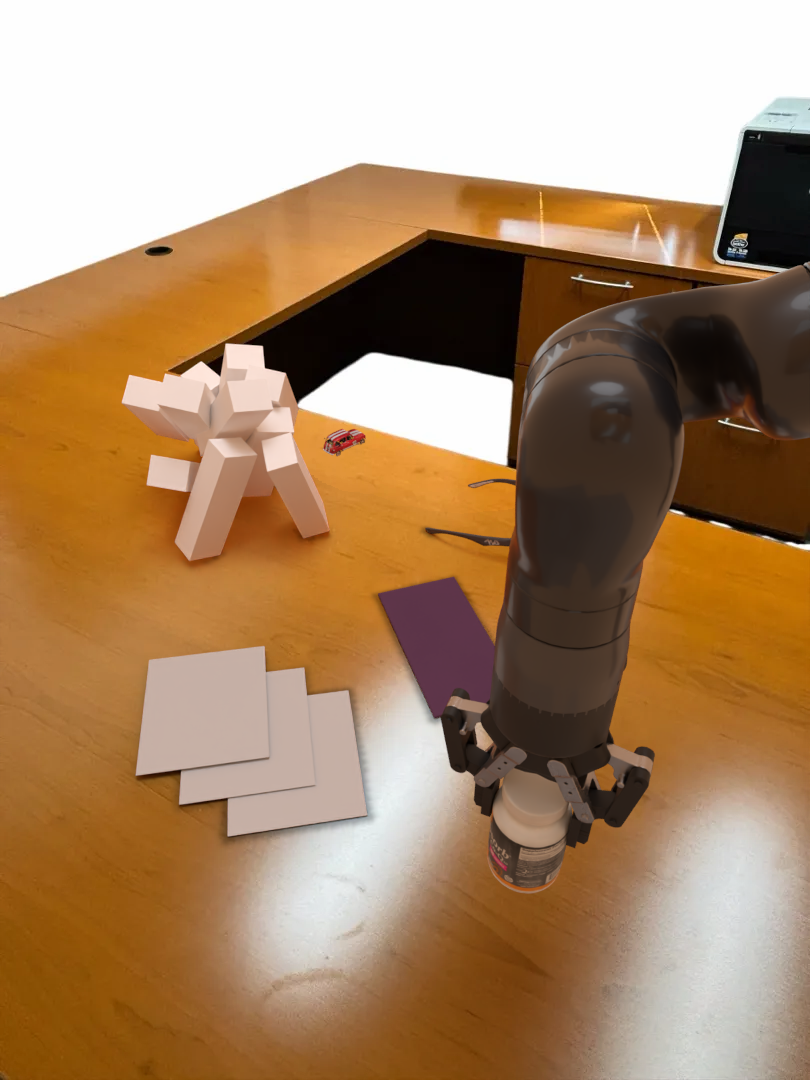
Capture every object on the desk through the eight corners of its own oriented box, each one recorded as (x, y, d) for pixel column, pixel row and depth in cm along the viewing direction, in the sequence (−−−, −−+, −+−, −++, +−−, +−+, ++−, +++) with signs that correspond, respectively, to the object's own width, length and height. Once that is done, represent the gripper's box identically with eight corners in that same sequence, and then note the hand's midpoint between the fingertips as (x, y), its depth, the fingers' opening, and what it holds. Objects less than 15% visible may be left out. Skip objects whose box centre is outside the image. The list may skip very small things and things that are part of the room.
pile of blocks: (111, 513, 128) (6, 392, 96) (234, 392, 137) (176, 244, 105) (267, 638, 119) (209, 549, 87) (388, 499, 128) (376, 373, 96)
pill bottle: (476, 836, 61) (483, 759, 55) (544, 820, 62) (559, 743, 56) (500, 905, 57) (510, 830, 51) (573, 887, 58) (592, 811, 52)
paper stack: (340, 640, 98) (340, 636, 97) (367, 815, 78) (367, 811, 78) (150, 663, 95) (149, 659, 94) (128, 852, 75) (126, 848, 75)
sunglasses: (524, 573, 108) (523, 544, 105) (421, 545, 116) (418, 517, 113) (569, 514, 119) (570, 486, 116) (472, 491, 127) (471, 465, 124)
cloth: (522, 695, 91) (522, 693, 91) (434, 718, 88) (434, 716, 88) (453, 578, 107) (454, 576, 107) (377, 595, 105) (377, 593, 104)
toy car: (368, 443, 136) (367, 427, 134) (332, 459, 131) (331, 443, 130) (354, 435, 138) (354, 419, 136) (319, 451, 134) (318, 435, 132)
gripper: (421, 668, 45) (419, 829, 56) (673, 747, 41) (620, 906, 51) (464, 590, 51) (455, 749, 61) (691, 651, 46) (640, 812, 57)
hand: (531, 820), depth 56 cm, fingers closed on pill bottle, 5 cm apart
